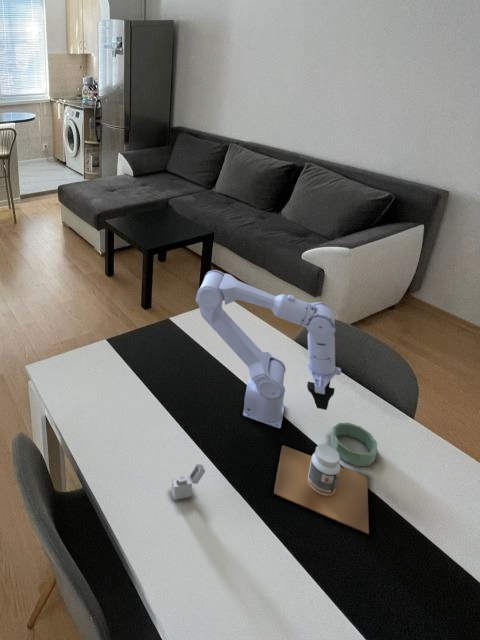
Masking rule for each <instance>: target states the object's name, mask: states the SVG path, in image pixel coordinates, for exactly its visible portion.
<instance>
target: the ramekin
mask: <svg viewBox="0 0 480 640" xmlns="http://www.w3.org/2000/svg"><path fill="white" fill-rule="evenodd" d="M330 435H331V436H330V445H329V446H331V447H333V448H334V449H335V450H336V451H337V452H338V453H339V456H340V459H342V460H343V461H344V462H346V463H349V464H351V465H354V466H357V467H367V466H370V465H371V464H372V463H373V462H374V461H375V460H376V456H377V453H378V442H377V440H376V439H375V438H374V436H373V435H372V433H370V432H369V431H368V430H366V429H365V428H363V427H362V426H360V425H357V424H354V423H351V422H338V423H337V424H335V425H334V426H333V427H332V430H331V434H330ZM338 436H349V437H351V438H355V439H357V440H359V441H360V442H361V443H363V444H364V445H365V446H366V447H367V449H368V450H369V451H370V452H358V451H355V450H352V449H349V448H348V447H347V446H345V444H343V443H341V442H340V440H339V439H338Z"/></svg>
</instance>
